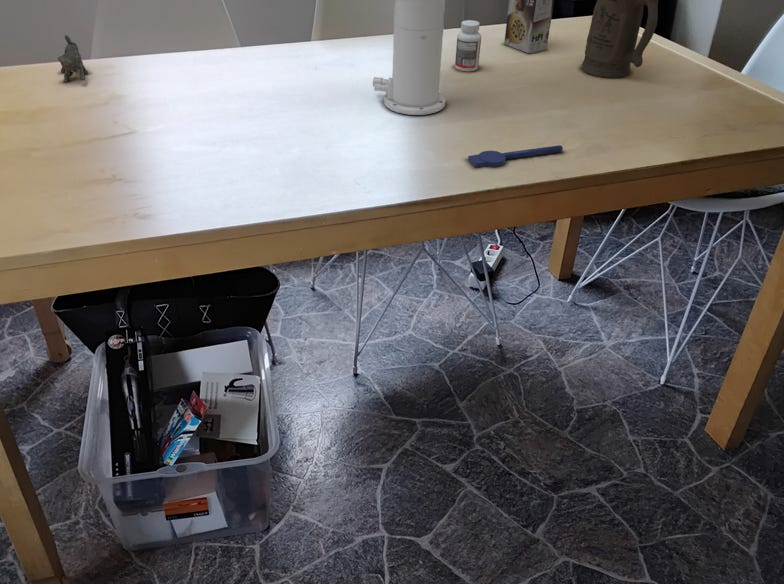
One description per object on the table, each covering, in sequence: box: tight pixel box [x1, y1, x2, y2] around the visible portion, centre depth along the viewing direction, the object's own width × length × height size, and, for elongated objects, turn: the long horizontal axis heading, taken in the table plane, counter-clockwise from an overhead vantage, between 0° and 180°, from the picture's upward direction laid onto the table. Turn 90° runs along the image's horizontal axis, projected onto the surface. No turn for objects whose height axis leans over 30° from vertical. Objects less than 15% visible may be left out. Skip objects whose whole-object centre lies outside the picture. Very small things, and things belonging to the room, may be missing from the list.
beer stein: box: [581, 0, 659, 79], centre depth 158 cm, size 15×11×20 cm
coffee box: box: [503, 0, 555, 54], centre depth 173 cm, size 9×6×16 cm
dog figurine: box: [57, 34, 89, 83], centre depth 156 cm, size 12×6×7 cm, turn 16°
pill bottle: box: [454, 19, 482, 72], centre depth 163 cm, size 5×5×10 cm
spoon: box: [467, 144, 564, 168], centre depth 130 cm, size 18×5×1 cm, turn 108°
